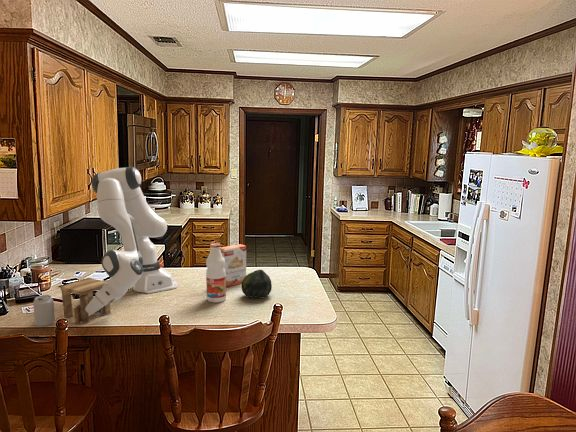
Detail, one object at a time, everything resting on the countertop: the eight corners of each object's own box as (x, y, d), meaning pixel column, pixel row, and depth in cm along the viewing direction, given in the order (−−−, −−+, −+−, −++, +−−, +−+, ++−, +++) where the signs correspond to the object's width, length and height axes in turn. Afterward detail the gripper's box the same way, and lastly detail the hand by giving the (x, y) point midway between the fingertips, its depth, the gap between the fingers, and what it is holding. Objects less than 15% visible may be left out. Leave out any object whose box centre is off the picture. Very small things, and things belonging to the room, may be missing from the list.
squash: (237, 281, 226) (243, 265, 215) (265, 279, 232) (272, 263, 221) (242, 306, 218) (248, 291, 207) (270, 303, 224) (278, 288, 213)
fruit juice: (229, 297, 218) (228, 243, 213) (219, 304, 210) (218, 247, 205) (213, 295, 222) (212, 241, 217) (203, 301, 214) (201, 245, 209)
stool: (111, 312, 199) (109, 282, 196) (81, 325, 185) (78, 293, 183) (90, 307, 205) (88, 277, 203) (59, 319, 192) (57, 287, 189)
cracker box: (225, 287, 233) (224, 249, 229) (219, 284, 237) (218, 247, 234) (247, 282, 242) (246, 245, 238) (240, 279, 246) (240, 243, 243)
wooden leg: (100, 314, 197) (98, 289, 195) (104, 315, 196) (103, 290, 194) (80, 322, 188) (77, 296, 186) (84, 323, 187) (82, 297, 185)
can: (32, 324, 187) (29, 297, 184) (50, 318, 192) (47, 292, 190) (40, 329, 182) (37, 301, 180) (58, 323, 188) (56, 296, 186)
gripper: (120, 277, 194) (101, 297, 197) (94, 293, 174) (73, 314, 177) (130, 287, 194) (111, 307, 197) (105, 304, 174) (84, 326, 177)
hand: (93, 310), depth 187 cm, fingers closed
